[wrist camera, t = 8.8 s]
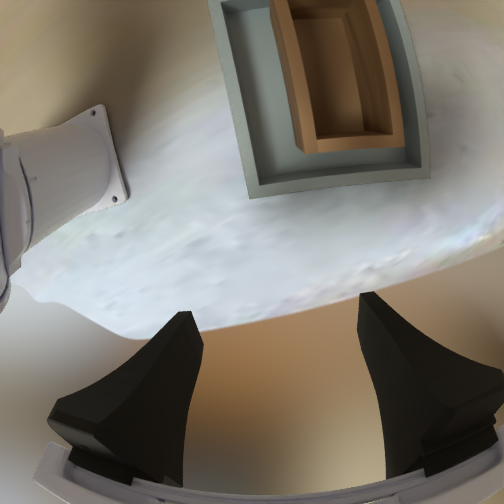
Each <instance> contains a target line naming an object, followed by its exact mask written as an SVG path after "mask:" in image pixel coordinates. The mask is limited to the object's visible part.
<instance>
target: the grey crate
mask: <svg viewBox="0 0 504 504" xmlns="http://www.w3.org/2000/svg"><path fill="white" fill-rule="evenodd" d="M375 1H376V4H377V7H378V10H379V13H380V16H381V19H382V22H383V26H384V29H385V33H386V37H387V40H388V44H389V48H390V52H391V57H392V61H393V66H394V70H395V76H396V81H397V86H398V92H399V99H400V106H401V113H402V121H403V131H404V142H405V147H392V148H371V149H356V150H343V151H332V152H322V153H313V154H305V153H303V152H302V151H301V150H300V149H299V148H298V147H297V146H296V144H295V138H294V132H293V126H292V120H291V115H290V109H289V104H288V98H287V93H286V88H285V83H284V78H283V73H282V68H281V64H280V59H279V55H278V50H277V46H276V41H275V37H274V33H273V29H272V25H271V21H270V9H269V0H207V2H208V7H209V11H210V16H211V20H212V25H213V29H214V34H215V38H216V43H217V48H218V52H219V57H220V61H221V66H222V71H223V75H224V80H225V85H226V89H227V94H228V99H229V103H230V108H231V113H232V118H233V122H234V127H235V132H236V137H237V142H238V146H239V151H240V156H241V161H242V166H243V170H244V175H245V180H246V185H247V190H248V195H249V199H255V198H262V197H268V196H274V195H281V194H288V193H294V192H301V191H309V190H316V189H324V188H332V187H340V186H349V185H358V184H367V183H377V182H388V181H400V180H412V179H427V178H431V177H430V149H429V136H428V125H427V116H426V108H425V101H424V95H423V89H422V83H421V78H420V73H419V68H418V63H417V59H416V55H415V51H414V47H413V43H412V39H411V36H410V32H409V29H408V26H407V23H406V19H405V16H404V13H403V11H402V8H401V5H400V2H399V0H375Z"/></svg>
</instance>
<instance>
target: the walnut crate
mask: <svg viewBox="0 0 504 504" xmlns="http://www.w3.org/2000/svg"><path fill="white" fill-rule="evenodd" d="M269 9H270V21H271V25H272V29H273V33H274V37H275V41H276V46H277V50H278V55H279V59H280V64H281V68H282V73H283V78H284V83H285V88H286V93H287V98H288V104H289V109H290V115H291V120H292V126H293V132H294V138H295V144H296V146H297V147H298V148H299V149H300V150H301V151H302V152H303V153H305V154H313V153H322V152H332V151H343V150H356V149H371V148H392V147H405V142H404V131H403V121H402V113H401V106H400V99H399V92H398V86H397V81H396V76H395V70H394V66H393V61H392V57H391V52H390V48H389V44H388V40H387V37H386V33H385V29H384V26H383V22H382V19H381V16H380V13H379V10H378V7H377V4H376V1H375V0H269Z"/></svg>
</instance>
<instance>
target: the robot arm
mask: <svg viewBox="0 0 504 504" xmlns="http://www.w3.org/2000/svg"><path fill="white" fill-rule="evenodd" d="M94 111H95V112H96V114H95V116H94V115H93V112H94ZM115 196H116V197H117V199H118V200H117V201H116V200H115V198H114V197H115ZM126 200H127V193H126V189H125V186H124V182H123V179H122V175H121V172H120V168H119V164H118V160H117V156H116V153H115V148H114V144H113V140H112V136H111V132H110V127H109V122H108V118H107V113H106V108H105V106H104V105H102V104H98V105H96V106H94V107H92V108H90V109H88V110H86V111H84V112H82V113H80V114H79V115H77V116H75V117H73V118H71V119H70V120H68V121H66V122H65V123H63V124H61V125H60V126H55V127H49V128H43V129H38V130H33V131H28V132H23V133H19V134H15V135H11V136H7V137H4V131H3V130H2V129H1V128H0V313H1V312H2V311H3V309H4V308H5V306H6V304H7V302H8V299H9V296H10V291H11V282H10V276H11V275H12V274H13V273H14V272H16V271H17V270H18V269H19V268H20V267H21V257H22V255H23V253H25V252H26V251H27V250H29V249H30V248H31V247H33V246H34V245H36V244H37V243H38V242H40V241H41V240H43V239H44V238H45V237H47V236H48V235H50V234H51V233H53V232H54V231H55V230H57V229H58V228H60V227H61V226H63V225H64V224H66V223H67V222H69V221H71V220H72V219H74V218H77V217H80V216H83V215H86V214H89V213H92V212H95V211H99V210H102V209H105V208H109V207H112V206H116V205H119V204H122V203H124V202H126ZM357 332H358V337H359V341H360V346H361V350H362V353H363V355H364V359H365V361H366V364H367V367H368V370H369V373H370V375H371V379H372V382H373V385H374V388H375V391H376V395H377V399H378V404H379V409H380V415H381V421H382V429H383V436H384V447H385V459H386V460H385V461H386V480H383V481H379V482H375V483H371V484H367V485H362V486H357V487H352V488H346V489H340V490H334V491H326V492H319V493H309V494H296V495H270V496H268V495H263V496H261V495H234V494H221V493H211V492H203V491H196V490H189V489H183V488H182V487H183V451H184V440H185V430H186V422H187V415H188V410H189V405H190V402H191V398H192V394H193V391H194V387H195V384H196V380H197V377H198V373H199V369H200V365H201V361H202V353H203V345H204V344H203V341H202V338H201V336H200V333H199V331H198V328H197V325H196V323H195V320H194V317H193V315H192V312H191V311H182V312H178V313H177V314H176V315H174V316H173V317H172V318H171V319H170V320H169V321H168V323H167V324H166V325H165V326H164V327H163V328H162V329H161V330H160V331H159V332H158V333H157V334H156V335H155V336H154V337H153V338H152V339H151V340H150V341H149V342H148V343H147V344H146V345H145V346H143V347H142V348H141V349H140V350H139V351H138V352H137V353H136V354H135V355H134V356H132V357H131V358H130V359H129V360H128V361H126V362H125V363H124V364H123V365H121V366H120V367H119V368H117V369H116V370H114V371H113V372H111V373H110V374H108V375H107V376H105V377H104V378H102V379H101V380H99V381H97V382H95V383H94V384H92V385H90V386H88V387H86V388H84V389H82V390H80V391H77V392H75V393H73V394H70V395H68V396H65V397H63V398H60V399H58V400H57V401H56V403H55V405H54V407H53V409H52V411H51V413H50V415H49V417H48V419H47V422H48V425H49V426H50V427H51V428H52V429H53V430H54V431H55V432H56V433H57V434H58V435H59V436H61V437H62V438H63V439H64V440H65V441H67V442H68V443H69V444H70V445H72V446H73V448H72V450H71V451H70V450H68V449H66V448H64V447H63V446H60V445H58V444H56V443H54V442H52V441H49V442H48V444H47V446H46V448H45V450H44V452H43V455H42V457H41V459H40V461H39V464H38V466H37V468H36V471H35V473H34V476H33V478H32V479H33V481H34V482H36V483H37V484H38V485H40V486H41V487H43V488H44V489H46V490H48V491H49V492H50V493H52V494H54V495H55V496H57V497H58V498H60V499H61V500H63V501H64V502H66V503H68V504H167V503H165V502H168V503H172V504H364V503H368V502H373V501H376V502H373V503H369V504H479V503H481V502H483V501H484V500H486V499H488V498H489V497H491V496H492V495H494V494H495V493H496V492H498V491H499V490H501V489H502V488H504V424H503V425H502V426H500V427H499V428H498V429H497V430H496V431H495V429H494V426H493V425H494V424H495V423H496V419H495V417H494V413H496V411H497V410H498V409H499V408H500V407H501V405H502V404H503V403H504V374H503V372H502V371H501V370H500V369H497V368H494V367H490V366H487V365H484V364H481V363H478V362H475V361H473V360H470V359H468V358H466V357H463V356H461V355H459V354H457V353H455V352H453V351H451V350H449V349H447V348H445V347H444V346H442V345H440V344H439V343H437V342H435V341H434V340H432V339H431V338H429V337H428V336H426V335H425V334H423V333H422V332H420V331H419V330H417V329H416V328H415V327H414V326H412V325H411V324H410V323H409V322H407V321H406V320H405V319H404V318H403V317H402V316H400V315H399V314H398V313H397V312H396V311H395V310H393V309H392V308H391V307H390V306H389V305H388V304H387V303H386V302H385V301H384V300H382V299H381V298H380V297H379V296H378V295H377V294H376V293H375V292H373V291H372V292H366V293H360V297H359V313H358V323H357ZM381 499H382V500H381ZM377 500H379V501H377Z"/></svg>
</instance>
